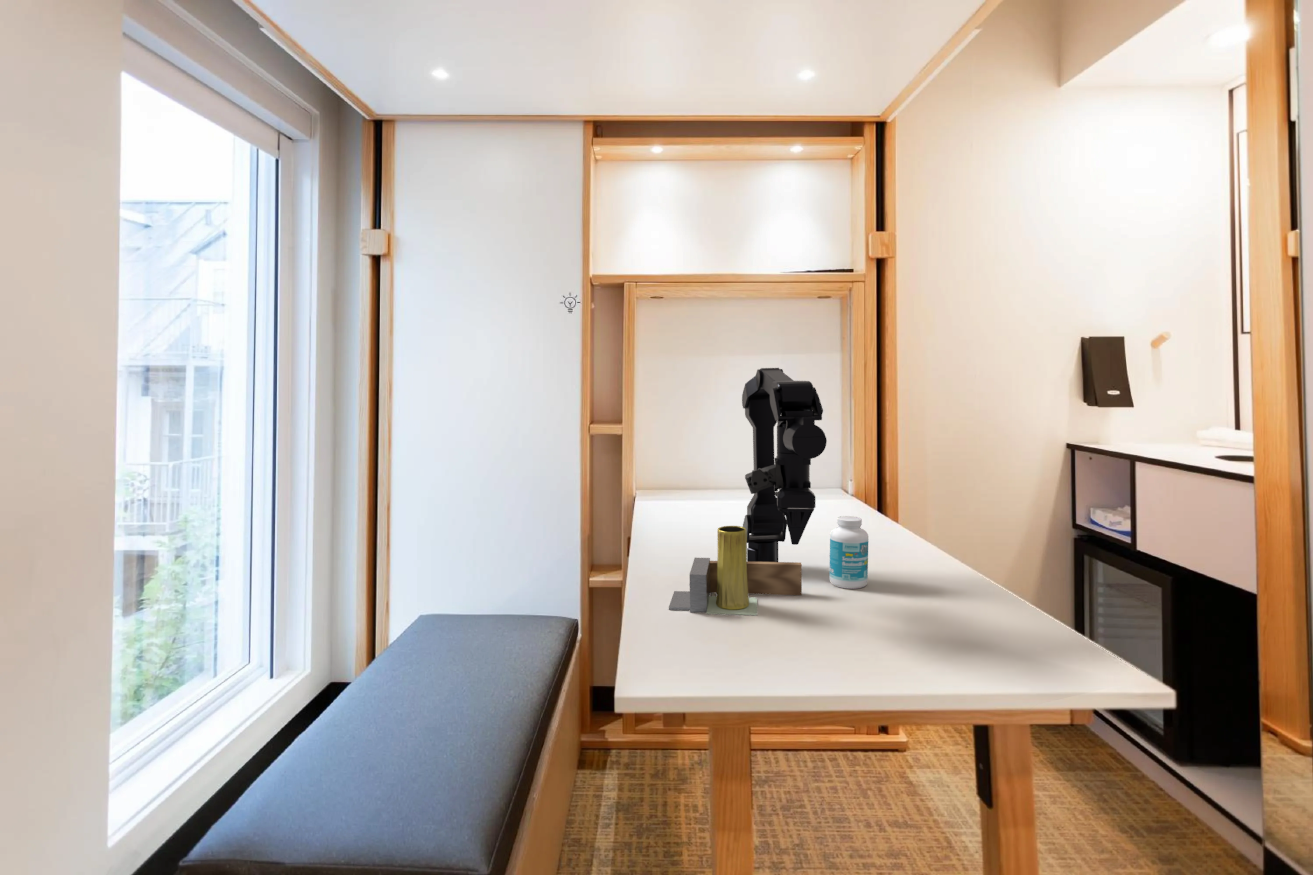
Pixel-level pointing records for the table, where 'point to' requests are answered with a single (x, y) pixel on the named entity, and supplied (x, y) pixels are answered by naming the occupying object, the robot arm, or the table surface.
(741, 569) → the vase
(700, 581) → the bookend
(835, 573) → the pill bottle
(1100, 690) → the table surface
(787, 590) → the back rail
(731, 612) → the mat
